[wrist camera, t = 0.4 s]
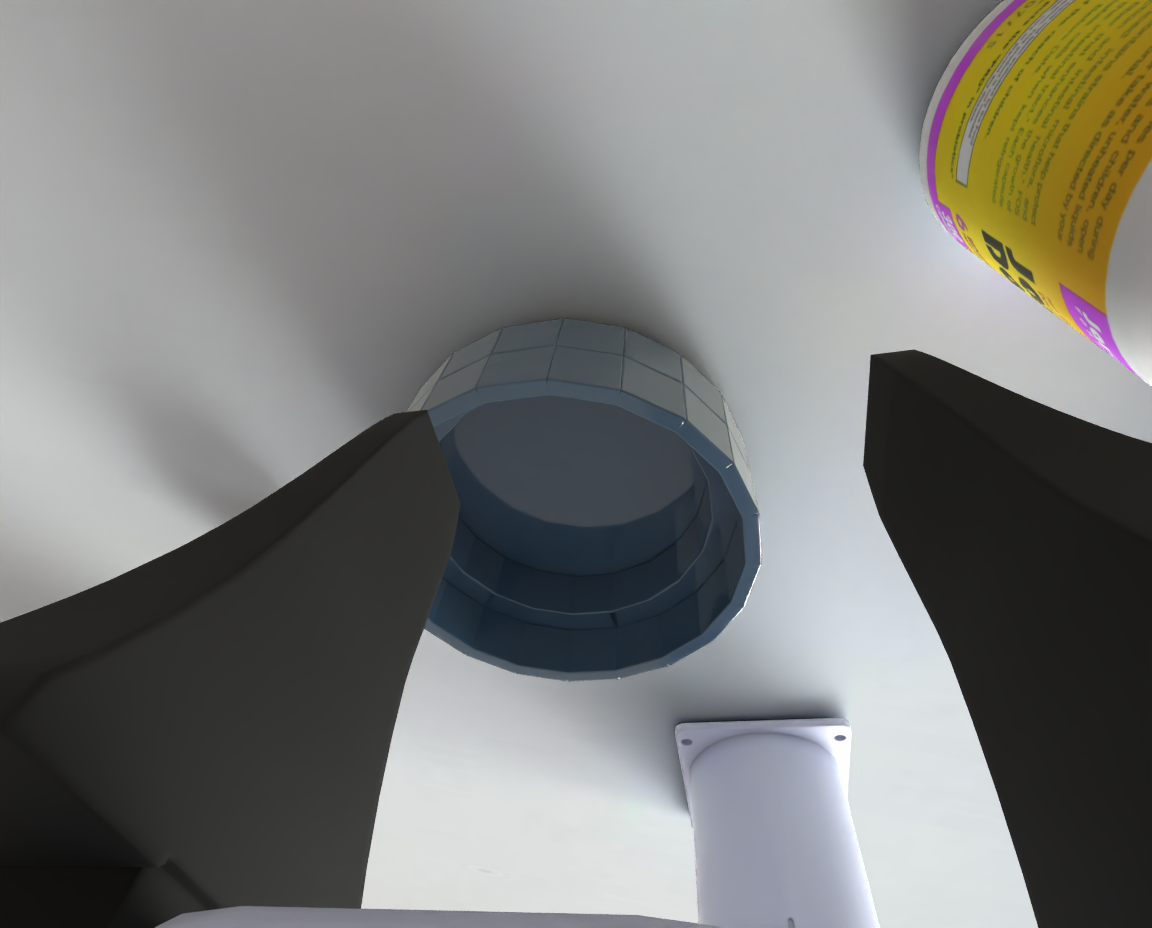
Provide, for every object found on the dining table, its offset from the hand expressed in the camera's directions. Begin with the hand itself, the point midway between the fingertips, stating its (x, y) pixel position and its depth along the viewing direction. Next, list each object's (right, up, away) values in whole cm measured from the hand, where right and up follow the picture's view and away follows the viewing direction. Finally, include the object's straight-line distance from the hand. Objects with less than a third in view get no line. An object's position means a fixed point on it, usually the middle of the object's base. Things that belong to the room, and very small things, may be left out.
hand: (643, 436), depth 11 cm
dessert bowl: (-1, -1, +13) cm, 13 cm away
